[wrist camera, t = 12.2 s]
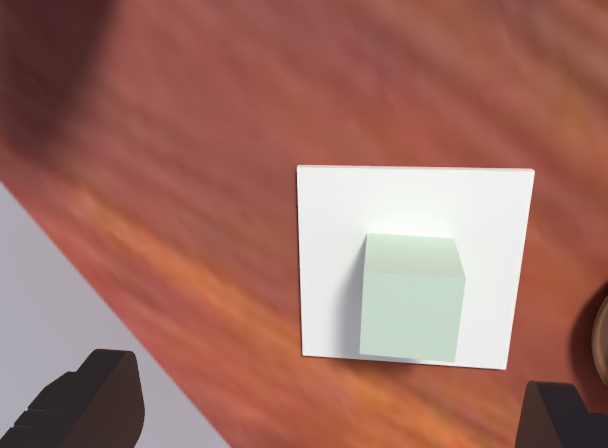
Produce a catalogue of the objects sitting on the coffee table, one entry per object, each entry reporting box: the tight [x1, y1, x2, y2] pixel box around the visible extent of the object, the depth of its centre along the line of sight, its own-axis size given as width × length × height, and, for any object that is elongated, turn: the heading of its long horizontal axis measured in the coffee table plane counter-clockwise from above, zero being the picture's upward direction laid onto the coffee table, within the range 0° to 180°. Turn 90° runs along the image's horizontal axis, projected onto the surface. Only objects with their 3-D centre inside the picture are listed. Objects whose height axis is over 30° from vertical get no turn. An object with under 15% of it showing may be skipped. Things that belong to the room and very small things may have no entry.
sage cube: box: [360, 233, 466, 363], centre depth 29 cm, size 5×5×5 cm
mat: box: [297, 165, 535, 370], centre depth 32 cm, size 13×13×1 cm
